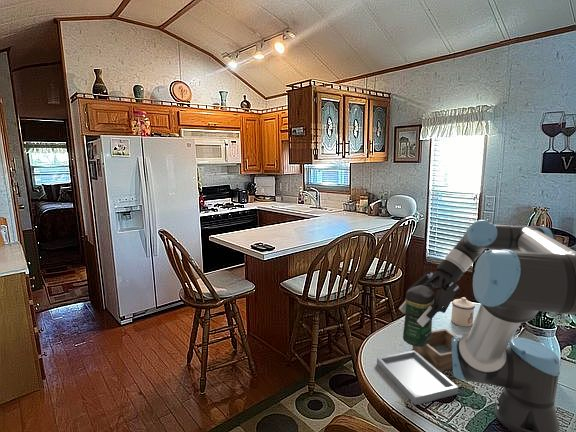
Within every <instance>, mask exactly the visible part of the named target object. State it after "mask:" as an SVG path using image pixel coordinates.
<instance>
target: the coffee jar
mask: <svg viewBox="0 0 576 432" xmlns="http://www.w3.org/2000/svg"><path fill="white" fill-rule="evenodd" d="M435 295H436V293H435V291H434V290H433V289H432V288H430V287H427V286H423V285H419V286H415V287H413V288H411V289H409V290H408V289H407V291H406V292H405V299H406V312H405V314H404V322H403V323H404V325H403V332H402V340H403V341H404V342H405V343H407V344H408V345H409V346H412V347H413V346H418V347H423V346H425V345H426V344H428V343H429V342H430V340H431V332H432V331H433V330H432V327H433V318H432V319H429V321H428V322H427V323H426V324H425V325H424V326H423V327H422V326H421V325H420V324H419V323H418V322H417V320H418V319H419V318H420V317H421V316H422V314H423V313H424V312H425V311H426V310H427V309H428V307H429V306H431V305H433V303H434V300H435ZM431 307H432V306H431ZM432 308H433V307H432Z"/></svg>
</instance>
